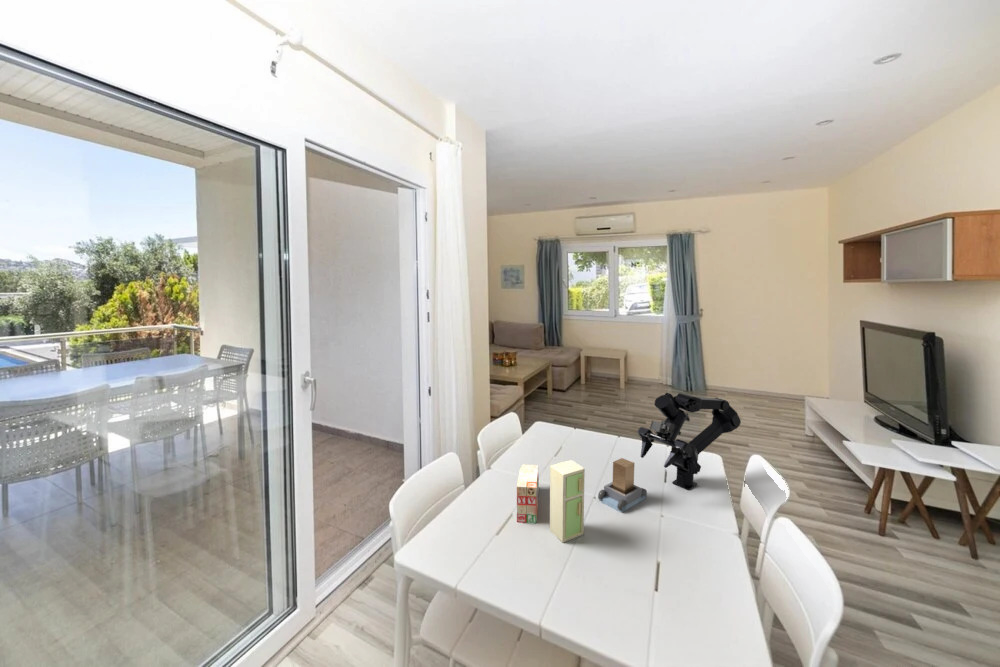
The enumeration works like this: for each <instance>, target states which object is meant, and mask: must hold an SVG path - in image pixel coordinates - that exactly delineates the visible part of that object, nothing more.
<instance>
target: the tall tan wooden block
mask: <svg viewBox="0 0 1000 667" xmlns="http://www.w3.org/2000/svg"><path fill="white" fill-rule="evenodd" d="M612 482H613V487H612V488H613V489H615V490H617V491H619V492H621V493H623V494H625V495H626V494H628V493H630V492H632V491H634V485H635V484H634V483H635V462H633V461H630V460H628V459H626V458H623V457H621V458H618V459H615V461H613V462H612Z"/></svg>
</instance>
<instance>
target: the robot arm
mask: <svg viewBox="0 0 1000 667" xmlns="http://www.w3.org/2000/svg"><path fill="white" fill-rule="evenodd" d="M654 406H655V407H656V409H657V410H658V411H659V412H660V413H661V415H663V416H664V417H665V420H661V421H660V422H658V421H655V420H651V424H650V427H649V428H647V427H643V426H641V427H639V428H638V430H637V431H636V433H637V435H639V437H640V438H641V451H640V458H641V459H644V457H645V456H646V455H647V454H648V452H649V451H650V450H651V448H652V447H653V445H654V444H653V442H654V441H656V442H659V443H661V444H664V445H666V446H670V447H671V450H670V452H669V455H668V456H667V459H666V460H665V462H664V465H663V467H664V468H665V469H666V468H668V467H670V466H674V467H676V478H675V480H673V481H672V482H671V484H673V485H675V486H678V487H680V488H683V489H684V490H688V491H690V490H691V489H693V488H695V487H696V486H697V485H698V483H697V482H695V481H694V478H695V477H694V476H695V475H698V473H699V472H701V469H702V468H701V467H702V466H701V465H700V464H699V462H698V461H699V455H700V454H701V453H702V452H703V451H704V450H705V449H706V448H708V447H709V446H710V445H711V444H712V443H713V442H715V441H716V439H718V438H720V436H722V434H726V433H731V432H733V431H735V430H737V429H738V428H739V427H740V425H741V422H742V421H741V418H740V416H739V414H738V412H737V411H736V410H735V409H734V408H733V407H732V406H731V405H730V403H729V401H727V400H725V399H722V398H719V397H697V396H695V395H690V394H687V393H683V392H679V393H677V395H675V396H673V394H671V393H669V392H665V393H664V394H662V395H660V396H657V397H656V398H655V400H654ZM701 410H712V411H711V414H712V420H711V423H710V424H709V425H708V426H707V427H706V428H705V429H703V430H702V431H701V432H700V433H698V434H697V435H696V436H695V437H693V438H692V439H691V440H690V441H689V442H687V441H684V440H681V439H679V438H677V437H678V436H681V434H682V432H681V429H682V427H683V426H684V423H685V422H691V421H690V416H689V413H696V412H700V411H701ZM685 411H686V412H685ZM687 412H689V413H687ZM653 431H654V433H655V434H654V433H653Z"/></svg>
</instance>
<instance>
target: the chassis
mask: <svg viewBox="0 0 1000 667" xmlns="http://www.w3.org/2000/svg"><path fill="white" fill-rule="evenodd" d="M612 487H613V481H611V482H610V483H608V484H606V485H604V486H603V489H600V491H599V492H598V495H597V499H598V502H601V503H602V504H605V505H606V506H608V507H610V508H612V509H614V510H616V511H617V512H620V513H623V512H625V511H627V510H628V509H630V508H632V507H633V506H635V505H637V504H638V503H640V502H641V501H643V500H645V499H646V498H647V495H648V491H647V489H645V488H643V487H640V486H638V485H636V484H634V491H632V492H630V493H628V494H626V495H625V494H623V493H621V492H619V491H617V490H615V489H613V488H612Z"/></svg>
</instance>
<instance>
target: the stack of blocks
mask: <svg viewBox="0 0 1000 667" xmlns="http://www.w3.org/2000/svg"><path fill="white" fill-rule="evenodd" d="M539 473H540V472H539V465H538V464H521V466H520V468H519V472H518V478H517V482H516V483H517V484H516V523H523V524H524V523H527V524H537V518H538V507H539V506H538V505H539V503H538V502H539V501H538V499H539V490H538V489H539V488H540V487H539V480H540V479H539V475H540V474H539Z"/></svg>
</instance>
